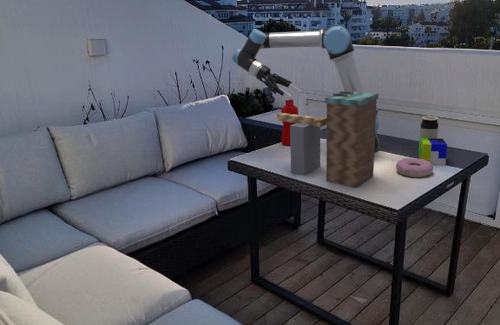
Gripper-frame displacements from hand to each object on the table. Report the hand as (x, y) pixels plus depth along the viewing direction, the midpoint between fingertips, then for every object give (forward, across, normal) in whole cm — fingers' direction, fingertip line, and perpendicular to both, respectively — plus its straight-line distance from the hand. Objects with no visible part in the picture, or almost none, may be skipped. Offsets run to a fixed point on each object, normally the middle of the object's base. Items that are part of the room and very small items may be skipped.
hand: (294, 95), depth 210 cm
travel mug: (+66, -28, +5) cm, 72 cm away
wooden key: (+12, +14, -4) cm, 19 cm away
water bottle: (+6, -24, -33) cm, 41 cm away
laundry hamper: (+44, +19, -10) cm, 49 cm away
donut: (+65, +2, +3) cm, 65 cm away
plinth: (+26, +14, -21) cm, 36 cm away
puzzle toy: (+69, -15, +6) cm, 71 cm away
